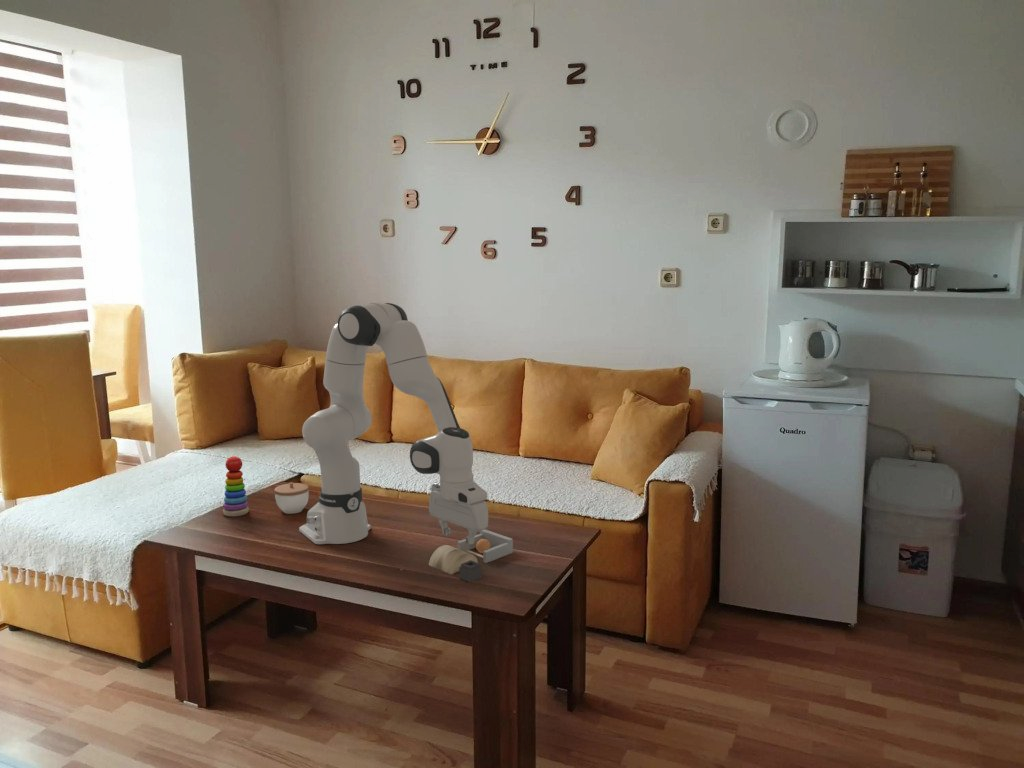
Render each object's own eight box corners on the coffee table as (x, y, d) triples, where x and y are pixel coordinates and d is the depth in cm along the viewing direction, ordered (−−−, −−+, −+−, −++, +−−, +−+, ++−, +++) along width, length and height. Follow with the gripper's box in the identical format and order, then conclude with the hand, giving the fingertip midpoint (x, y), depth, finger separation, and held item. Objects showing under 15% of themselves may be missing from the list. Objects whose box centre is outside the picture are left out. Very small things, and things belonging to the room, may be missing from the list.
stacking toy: (244, 517, 251) (240, 460, 248) (219, 517, 251) (215, 460, 248) (252, 509, 259) (248, 453, 256) (228, 509, 259) (224, 453, 256)
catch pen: (457, 552, 220) (457, 538, 220) (484, 542, 227) (483, 528, 227) (486, 563, 212) (486, 548, 212) (512, 552, 219) (512, 538, 219)
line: (465, 551, 221) (465, 550, 221) (468, 550, 221) (468, 549, 221) (488, 559, 215) (488, 559, 215) (490, 558, 215) (490, 558, 215)
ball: (476, 554, 220) (471, 544, 218) (485, 543, 222) (480, 534, 220) (486, 558, 218) (481, 548, 216) (495, 547, 220) (490, 538, 218)
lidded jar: (281, 505, 263) (279, 478, 261) (313, 505, 263) (312, 478, 261) (271, 516, 252) (269, 487, 251) (305, 516, 252) (303, 487, 250)
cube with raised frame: (459, 578, 203) (459, 564, 202) (471, 573, 205) (470, 559, 205) (470, 582, 200) (469, 568, 199) (481, 577, 203) (481, 563, 202)
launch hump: (428, 586, 212) (427, 550, 211) (456, 575, 219) (456, 540, 218) (451, 596, 206) (450, 559, 204) (479, 584, 213) (478, 549, 211)
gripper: (422, 483, 215) (424, 532, 217) (474, 499, 200) (475, 551, 203) (440, 479, 219) (441, 526, 221) (491, 494, 205) (492, 545, 207)
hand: (458, 538), depth 212 cm, fingers open, 8 cm apart
